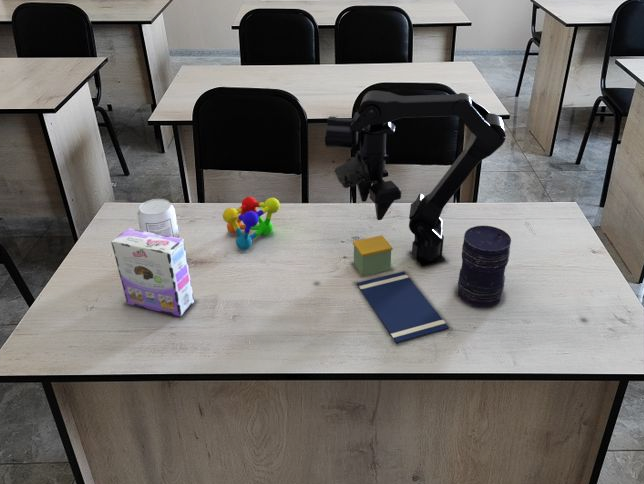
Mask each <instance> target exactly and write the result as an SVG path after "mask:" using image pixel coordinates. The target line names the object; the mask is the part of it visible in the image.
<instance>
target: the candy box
mask: <svg viewBox="0 0 644 484" xmlns="http://www.w3.org/2000/svg"><path fill="white" fill-rule="evenodd" d="M110 243H111V247H112V250H113V253H114V254H113V255H114V258H115V263H116V265H117V271H118V273H119V278H120V282H121V285H122V289H123V293H124V297H125V300H126V301H125V302H126V304H127V305H130V306H134V307H139V308H142V309H147V310H151V311H156V312H159V313H163V314H168V315H171V316H177V317H182V316H183V315H184V314H185V312H186V311H187V310H188V309H189V308H190V307H191V306H192V305H193V304H194V303H195V297H194V292H193V285H192V280H191V274H190V269H189V263H188V257H187V252H186V246H185V240H184V238H181V237H180V238H175V237H169V236H164V235H159V234H154V233H149V232H144V231H141V230H140V229H133V228H126V229H125V230H124V231H123V232H121V233H120V234H118V236H116V237H115V238H114V239H113V240H112V241H111V242H110Z"/></svg>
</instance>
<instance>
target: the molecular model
mask: <svg viewBox="0 0 644 484" xmlns="http://www.w3.org/2000/svg"><path fill="white" fill-rule="evenodd" d="M257 208H261V209H259V210H257ZM280 208H281V203H280V201H279V200H278V199H277V198H275V197H268V198H267V199H266V200H265V202H262V201H261V202H260V201H257V200H256V198H255V197H252V196H247V197H244V198H243V199H242V201H241V205H240V206H239V207H237V208H234V207H228V208H226V209H224V211H223V213H222V219H223V220H224V222H225V223H227V225H226V229H227V231H228V232H229V233H230V234H231V235H236V236H237V238H236V240H235V244H236V247H237V248H238V249H239V250H241V251H247V250H249V249H250V248H251V247H252V245H253V240H255V239H256V238H257V237H259V236H260V235H262V236H269V235H271V234H272V233H273V231H274V226H273V223H272V222H271V221H272V217H273V214H276V213H277V212H278V211H279V210H280ZM264 214H266V216H265V219H263V218H262V216H263V215H264ZM242 230H243V232H242ZM251 231H254V232H253V233H251V234H250V232H251Z"/></svg>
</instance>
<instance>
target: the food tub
mask: <svg viewBox="0 0 644 484" xmlns="http://www.w3.org/2000/svg"><path fill="white" fill-rule="evenodd" d="M352 245H353V265H354V266H355V268H356V269H357V272H359V273H360V275H361V276H362V277H364V276H365V277H366V276H369V275H373V274H378V273H381V272H385V271H390V270H391V268H392V266H391V265H392V251H393V250H394V249H393V248H394V247H393V246H392V245H391V244H390V243H389V241H388V240H387V239H386V237H385V236H384V235H383V234H381V235H376V236H371V237H367V238H362V239H358V240H353V241H352Z"/></svg>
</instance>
